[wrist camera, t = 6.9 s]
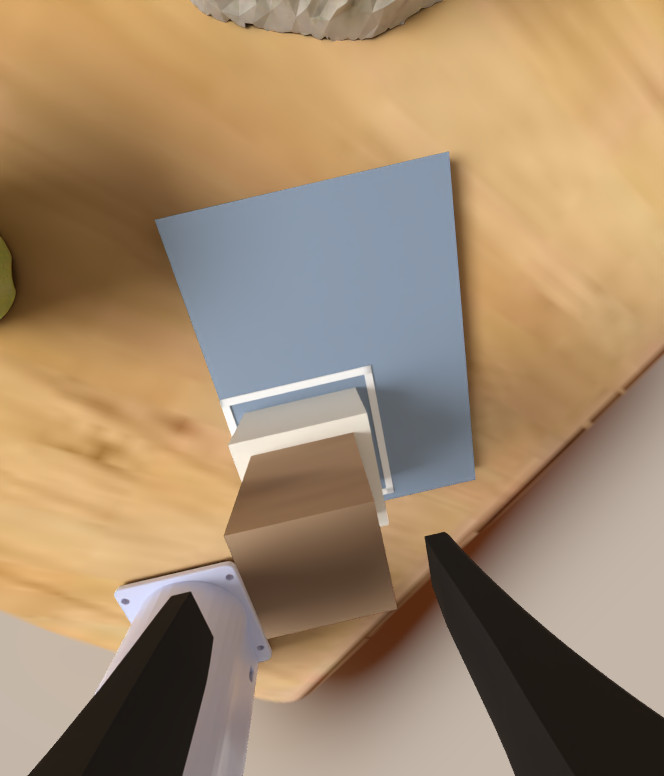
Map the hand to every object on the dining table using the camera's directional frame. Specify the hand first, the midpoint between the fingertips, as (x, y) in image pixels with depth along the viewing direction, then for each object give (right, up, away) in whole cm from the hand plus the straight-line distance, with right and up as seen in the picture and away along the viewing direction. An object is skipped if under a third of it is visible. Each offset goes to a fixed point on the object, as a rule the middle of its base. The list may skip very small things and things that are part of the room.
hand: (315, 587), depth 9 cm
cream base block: (-1, +3, +8) cm, 8 cm away
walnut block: (0, +2, +5) cm, 5 cm away
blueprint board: (+1, +7, +8) cm, 11 cm away
